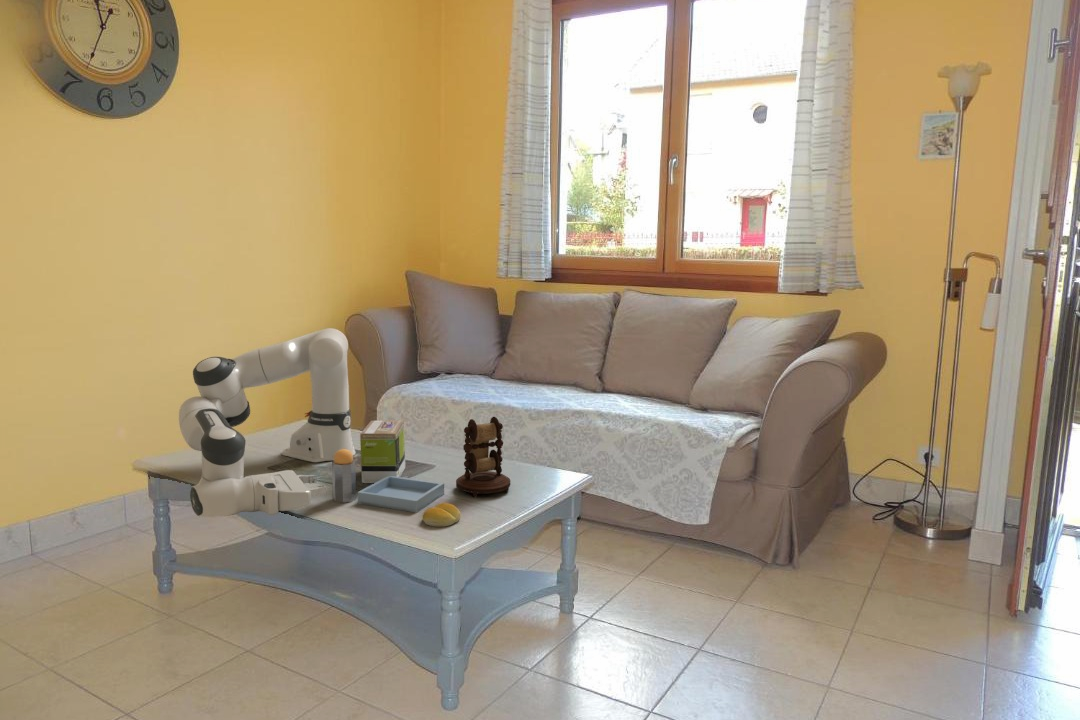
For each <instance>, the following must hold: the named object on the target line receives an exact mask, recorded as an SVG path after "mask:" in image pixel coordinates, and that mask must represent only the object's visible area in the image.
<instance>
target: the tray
mask: <svg viewBox="0 0 1080 720" xmlns="http://www.w3.org/2000/svg"><path fill="white" fill-rule="evenodd" d="M443 495H445V483H444V482H437V481H430V480H424V479H415V478H409V477H403V476H402V477H401V476H400V477H395V476H387V477H385V478H383V479H381V480H379V481H378V482H376V483H374V484H370V485H368V486H367V487H365V488H363V489H361V490H359V491H357V505H358V504H359V505H366V506H371V507H378V508H379V507H380V508H386V509H390V508H391V510H397V511H403V512H404V511H405V512H410V513H419V512H420V511H421V510H422V509H425V508H426V507H427V506H429V505H430V504H432V503H433V502H434V501H436V500H438V499H439V498H441V497H442V496H443Z"/></svg>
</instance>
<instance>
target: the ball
mask: <svg viewBox="0 0 1080 720" xmlns="http://www.w3.org/2000/svg"><path fill="white" fill-rule="evenodd" d="M353 460H354V455H352V453H351V452H350V451H349V450H347V449H341V450H339V451H337V452H336V454H335V456H334V460H333V461H334V462H335V463H336V464H341V465H344V464H350V463H352V461H353Z"/></svg>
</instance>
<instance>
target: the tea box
mask: <svg viewBox="0 0 1080 720" xmlns="http://www.w3.org/2000/svg"><path fill="white" fill-rule="evenodd" d="M359 436H360V437H359V440H360V441H359V443H360V462H361V463H360V465H361V467H360V468H361V483H362V484H363V483H376V482H378V481H379V480H381V479H383V478H385V477H387V476H395V477H401V476H402V474H403V473H404V471H405V469H406V450H405V449H406V448H405V447H406V446H405V421H404V420H370V421H369V422H368V424H367V425H366V426H365V427H364V429H363V430H362V432H361V433H360V434H359Z"/></svg>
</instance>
